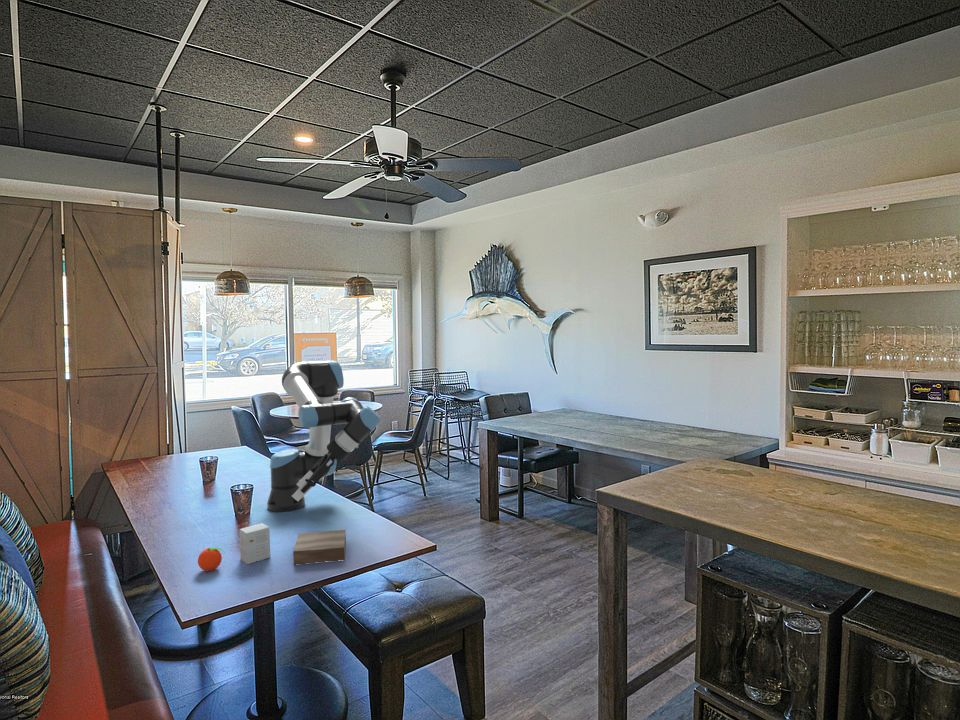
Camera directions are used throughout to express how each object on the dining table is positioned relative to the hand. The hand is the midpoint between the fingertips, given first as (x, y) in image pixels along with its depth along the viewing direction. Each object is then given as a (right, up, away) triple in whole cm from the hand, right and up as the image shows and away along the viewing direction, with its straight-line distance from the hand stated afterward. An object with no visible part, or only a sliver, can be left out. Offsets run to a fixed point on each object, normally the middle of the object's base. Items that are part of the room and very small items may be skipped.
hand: (297, 492), depth 191 cm
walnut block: (+7, -22, +3) cm, 23 cm away
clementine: (-24, -23, -9) cm, 34 cm away
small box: (-14, -22, -1) cm, 26 cm away
